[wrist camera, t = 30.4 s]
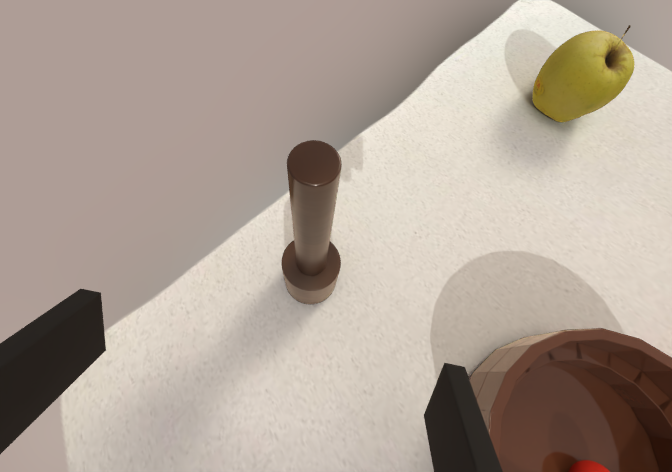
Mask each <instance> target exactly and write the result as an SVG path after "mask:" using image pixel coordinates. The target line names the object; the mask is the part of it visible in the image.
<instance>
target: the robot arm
mask: <svg viewBox="0 0 672 472" xmlns="http://www.w3.org/2000/svg"><path fill="white" fill-rule="evenodd" d="M105 351H106V347H105V336H104V324H103V313H102V302H101V293H99V292H94V291H89V290H84V289H80V290H78V291H77V292H75V293H74V294H72V295H71V296H69V297H68V298H66V299H65V300H63V301H62V302H60V303H59V304H58V305H56V306H55V307H53V308H52V309H50V310H49V311H47V312H46V313H44V314H43V315H41V316H40V317H38V318H37V319H36V320H34V321H33V322H31V323H30V324H28V325H27V326H25V327H24V328H22V329H21V330H20V331H18V332H17V333H15V334H14V335H12V336H11V337H9V338H8V339H6V340H5V341H3V342H2V343H0V454H1V453H2V452H3V451H4V450H5V449H6V448H7V447H8V446H9V445H10V444H11V443H12V442H13V441H14V440H15V439H16V438H17V437H18V436H19V435H20V434H21V433H22V432H23V431H24V430H25V429H26V428H27V427H28V426H29V425H30V424H31V423H32V422H33V421H34V420H36V419H37V418H38V417H39V415H41V414H42V413H43V412H44V411H45V410H46V408H48V407H49V406H50V405H51V404H52V402H54V401H55V400H56V399H57V398H58V397H59V396H60V395H61V394H62V393H63V392H64V391H65V390H66V389H67V388H68V387H69V386H70V385H71V384H72V383H73V382H74V381H75V380H76V379H77V378H78V377H79V376H80V375H81V374H82V373H83V372H84V371H85V370H86V369H87V368H88V367H89V366H90V365H91V364H92V363H93V362H94V361H95V360H96V359H97V358H98V357H99V356H100V355H101V354H102V353H104V352H105ZM424 419H425V424H426V430H427V435H428V440H429V446H430V451H431V457H432V462H433V468H434V472H503V471H502V468H501V465H500V463H499V460H498V457H497V454H496V452H495V449H494V446H493V443H492V441H491V438H490V435H489V432H488V430H487V427H486V424H485V421H484V419H483V416H482V413H481V410H480V408H479V405H478V402H477V400H476V397H475V394H474V391H473V389H472V386H471V383H470V380H469V378H468V375H467V372H466V369H465V367H462V366H457V365H452V364H447V363H444V366H443V368H442V371H441V373H440V376H439V378H438V381H437V383H436V386H435V388H434V391H433V394H432V396H431V399H430V401H429V404H428V406H427V409H426V411H425V414H424Z"/></svg>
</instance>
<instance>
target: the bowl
mask: <svg viewBox="0 0 672 472" xmlns="http://www.w3.org/2000/svg"><path fill="white" fill-rule="evenodd" d="M470 383H471V386H472V389H473V391H474V394H475V397H476V400H477V402H478V405H479V408H480V410H481V413H482V416H483V419H484V421H485V424H486V427H487V430H488V432H489V435H490V438H491V441H492V443H493V446H494V449H495V452H496V454H497V457H498V460H499V463H500V465H501V468H502V471H503V472H569V470H570V468H571V466H572V465H573V464H574V463H576V462H578V461H581V460H590V461H594V462H597V463H599V464H601V465H603V466H604V467H605V468H607V469H608V470H609V471H610V472H672V358H671V357H670V356H668V355H666V354H665V353H663V352H661V351H660V350H658V349H656V348H655V347H653V346H651V345H650V344H648V343H646V342H644V341H643V340H641V339H639V338H635V337H632V336H628V335H624V334H621V333H617V332H614V331H610V330H606V329H603V328H593V329H572V330H562V331H556V332H551V333H546V334H540V335H535V336H529V337H524V338H521V339H519V340H517V341H514V342H512V343H510V344H507V345H505V346H503V347H501V348H498V349H496V350H495V351H494V352H493V353H492V354H491V355H490V356H489V357H488V358H487V359H486V360H485V361H484V362H483V363H482V364H481V365H480V366H479V367H478V368H477V369H476V370H475V371H474V372H473V373H472V376H471V378H470Z"/></svg>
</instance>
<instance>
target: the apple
mask: <svg viewBox="0 0 672 472" xmlns="http://www.w3.org/2000/svg"><path fill="white" fill-rule="evenodd" d="M629 28H630V25H629V27H628V28H627V30H626V32H627V31H628V29H629ZM626 32H625V33H626ZM625 33H624V35H625ZM624 35H623V36H624ZM621 39H622V38H621ZM621 39H620V38H618V37H617V36H615V35H613V34H611V33H608V32H606V31H589V32H585V33H581V34H578V35H576V36H574V37H573V38H571V39H569V40H568V41H566V42H565V43H564V44H562V45H561V46H560V47H558V48H557V49H556V50H555V51H554V52H553V53H552V54H551V56H550V57H549V58H548V59H547V61H546V62H545V64H544V65H543V67H542V68H541V70H540V72H539V74H538V76H537V79H536V81H535V84H534V88H533V98H532V99H533V103H534V105H535V107H536V108H537V109H539V110H540V111H541V112H543V113H544V114H545V115H547V116H549V117H550V118H552V119H553V120H555V121H558V122H566V121H570V120H573V119H576V118H578V117H581V116H583V115H586V114H588V113H591V112H593V111H596V110H598V109H600V108H601V107H603V106H605V105H606V104H607V103H609V102H610V101H612V100H613V99H614V98H615V97H616V96H617V95H618V94H619V93H620V92H621V91H622V90H623V89H624V87H625V86H626V84H627V83H628V81H629V79H630V77H631V75H632V73H633V70H634V59H633V55H632V53H631V51H630V49H629V48H628V47H627V46H626V44H625V43H624V42H623V41H622V40H621Z"/></svg>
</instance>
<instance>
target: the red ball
mask: <svg viewBox="0 0 672 472" xmlns="http://www.w3.org/2000/svg"><path fill="white" fill-rule="evenodd" d="M569 472H610V471H609V470H608V469H607V468H605V467H604V466H603V465H601V464H599V463H597V462H594V461H590V460H581V461H578V462H576V463H574V464H573V465H572V466H571V468H570V470H569Z"/></svg>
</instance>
